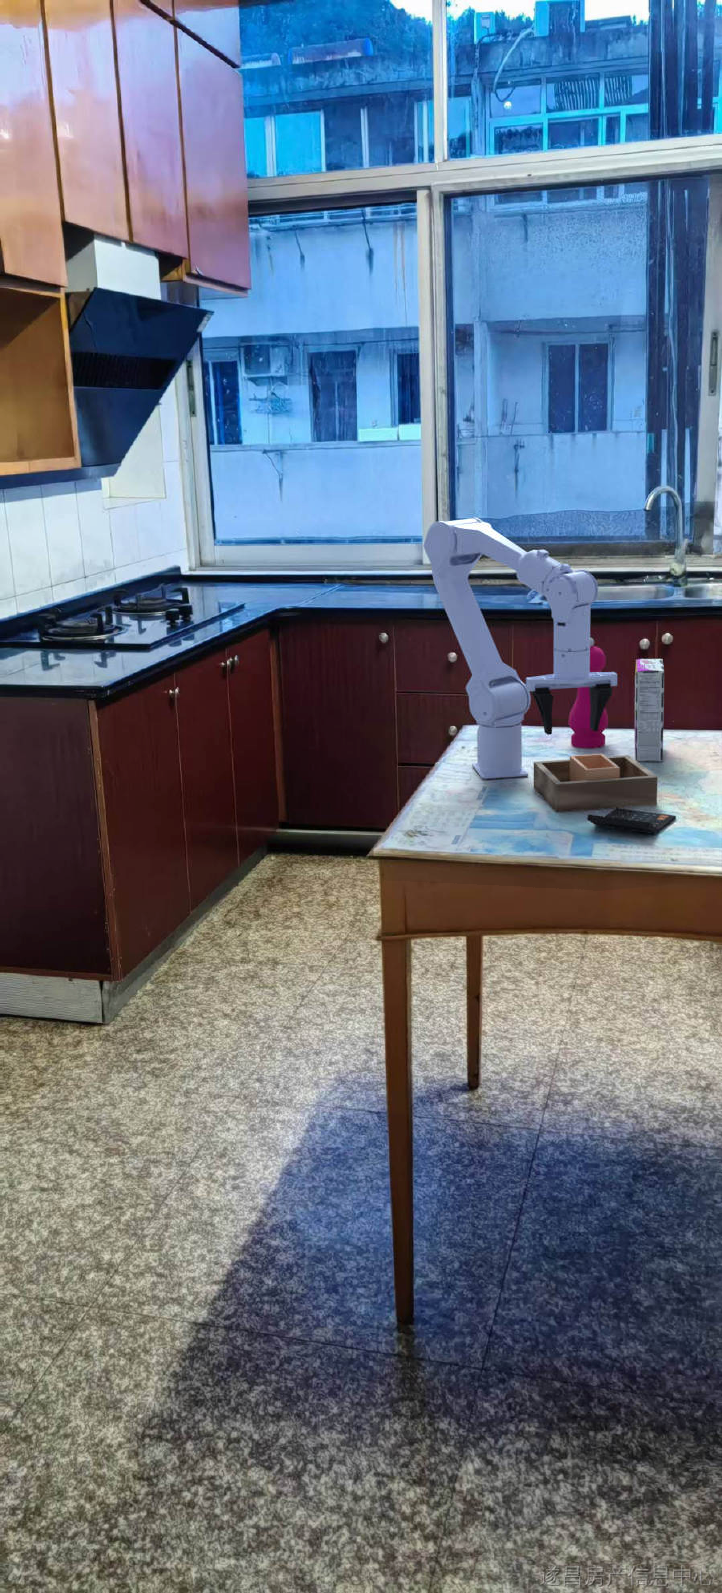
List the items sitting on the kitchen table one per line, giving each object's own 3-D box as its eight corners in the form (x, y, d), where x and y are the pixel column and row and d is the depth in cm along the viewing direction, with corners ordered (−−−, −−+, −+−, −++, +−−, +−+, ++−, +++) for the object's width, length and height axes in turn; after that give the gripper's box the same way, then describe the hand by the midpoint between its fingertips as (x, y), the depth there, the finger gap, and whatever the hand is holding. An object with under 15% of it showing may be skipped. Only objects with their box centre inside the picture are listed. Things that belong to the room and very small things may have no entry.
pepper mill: (568, 749, 231) (568, 641, 226) (568, 740, 238) (569, 634, 232) (608, 749, 230) (609, 640, 224) (607, 739, 237) (609, 634, 231)
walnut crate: (533, 788, 207) (533, 761, 206) (627, 781, 209) (628, 755, 208) (556, 812, 194) (556, 784, 193) (656, 804, 196) (657, 777, 194)
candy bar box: (633, 747, 231) (635, 658, 226) (661, 747, 230) (663, 658, 225) (633, 762, 220) (635, 670, 216) (663, 762, 219) (665, 669, 215)
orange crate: (569, 785, 205) (569, 755, 204) (601, 783, 206) (602, 753, 204) (585, 800, 197) (585, 769, 195) (619, 798, 197) (619, 767, 196)
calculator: (675, 821, 189) (676, 802, 188) (648, 843, 179) (648, 823, 178) (616, 813, 193) (616, 794, 193) (586, 834, 184) (586, 814, 183)
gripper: (533, 655, 196) (533, 740, 200) (623, 649, 197) (622, 734, 201) (522, 648, 203) (522, 730, 207) (610, 642, 204) (608, 724, 208)
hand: (571, 731), depth 204 cm, fingers open, 7 cm apart
